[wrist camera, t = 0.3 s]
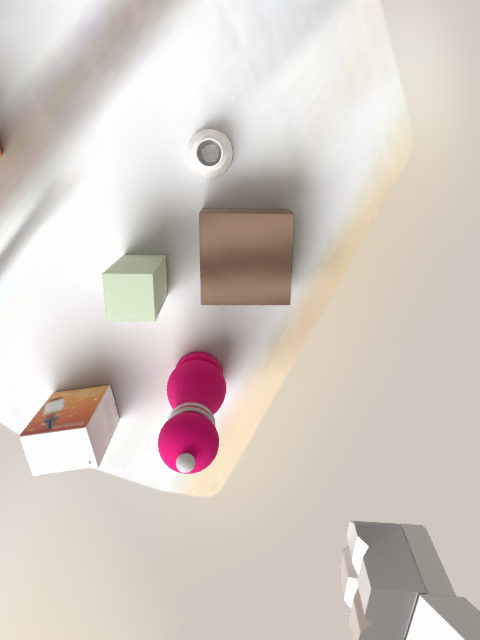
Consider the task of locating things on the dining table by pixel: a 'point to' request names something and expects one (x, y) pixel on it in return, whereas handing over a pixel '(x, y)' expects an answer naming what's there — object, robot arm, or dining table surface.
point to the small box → (71, 430)
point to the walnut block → (246, 256)
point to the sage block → (135, 288)
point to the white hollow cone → (210, 153)
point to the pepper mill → (192, 413)
